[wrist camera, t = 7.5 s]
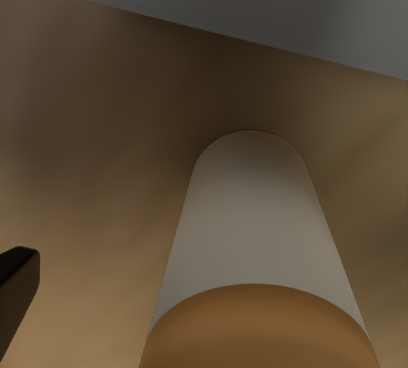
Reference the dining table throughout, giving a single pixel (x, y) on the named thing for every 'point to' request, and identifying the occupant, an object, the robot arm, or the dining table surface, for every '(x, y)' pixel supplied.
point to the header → (299, 27)
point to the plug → (255, 269)
